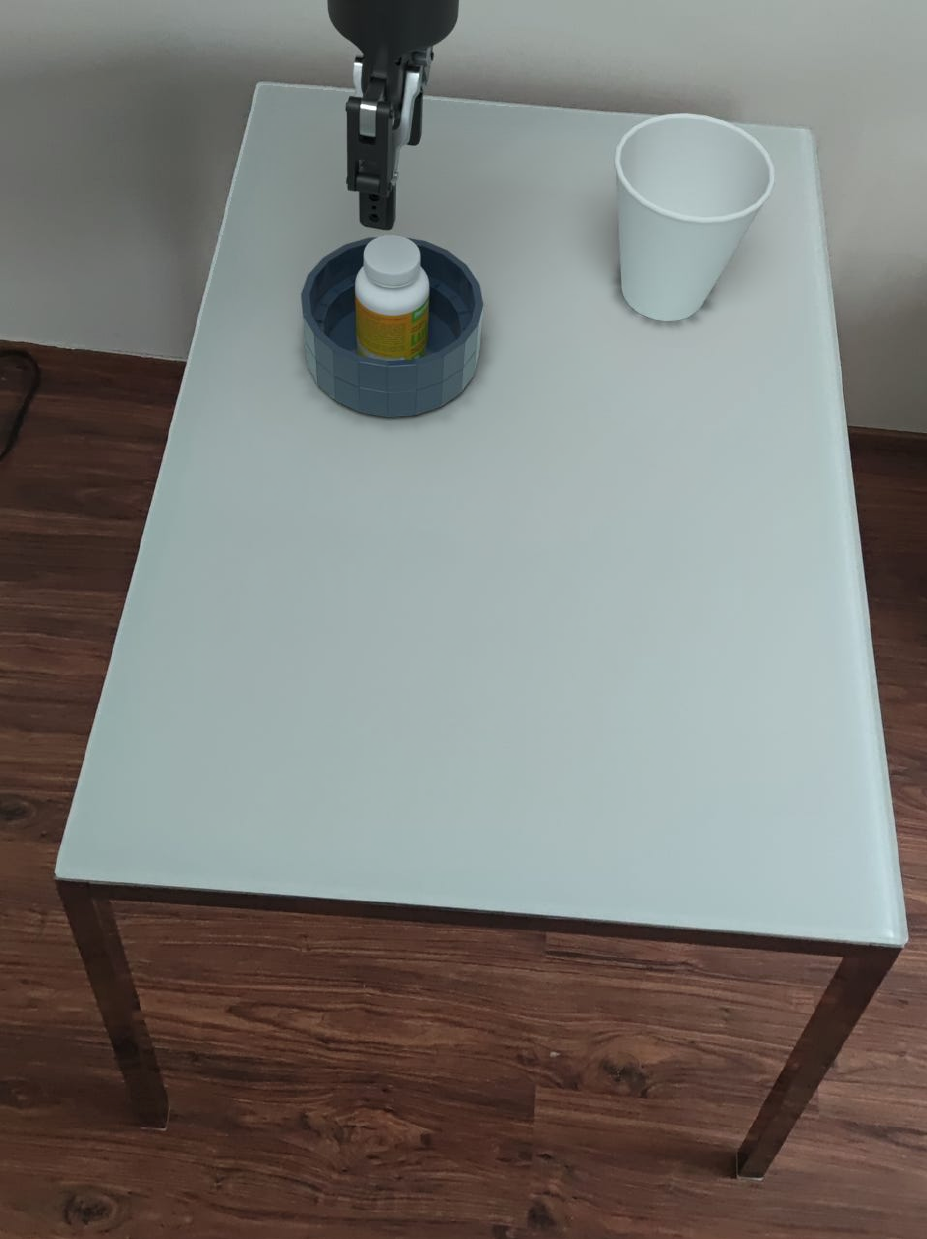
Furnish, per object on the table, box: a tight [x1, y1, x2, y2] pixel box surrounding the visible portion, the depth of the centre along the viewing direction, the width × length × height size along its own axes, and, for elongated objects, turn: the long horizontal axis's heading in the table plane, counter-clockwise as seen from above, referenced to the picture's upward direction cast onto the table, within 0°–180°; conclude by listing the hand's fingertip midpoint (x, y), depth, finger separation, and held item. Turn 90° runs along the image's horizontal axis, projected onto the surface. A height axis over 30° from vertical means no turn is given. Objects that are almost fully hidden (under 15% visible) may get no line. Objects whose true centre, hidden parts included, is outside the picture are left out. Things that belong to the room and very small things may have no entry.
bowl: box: [300, 236, 484, 418], centre depth 92 cm, size 13×13×6 cm
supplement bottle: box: [355, 234, 429, 361], centre depth 90 cm, size 5×5×10 cm
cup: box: [613, 112, 776, 322], centre depth 94 cm, size 12×12×12 cm
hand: (391, 182), depth 80 cm, fingers open, 8 cm apart
